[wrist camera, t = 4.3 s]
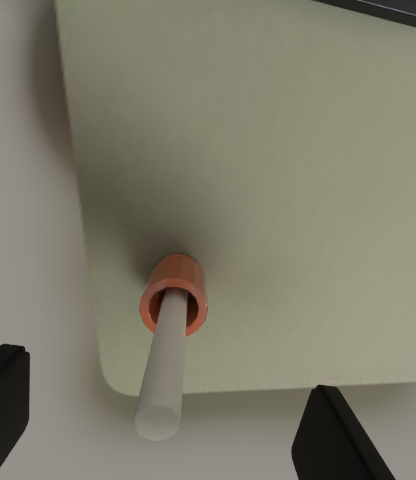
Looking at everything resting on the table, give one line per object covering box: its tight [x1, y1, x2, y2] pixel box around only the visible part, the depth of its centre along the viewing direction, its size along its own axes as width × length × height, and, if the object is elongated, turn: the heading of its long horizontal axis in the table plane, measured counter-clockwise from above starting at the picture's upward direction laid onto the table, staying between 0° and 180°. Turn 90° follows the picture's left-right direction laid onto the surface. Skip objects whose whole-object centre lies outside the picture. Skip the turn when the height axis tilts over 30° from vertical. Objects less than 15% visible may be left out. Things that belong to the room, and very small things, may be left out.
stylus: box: [133, 287, 188, 441], centre depth 13 cm, size 1×1×10 cm
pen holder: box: [139, 254, 208, 337], centre depth 16 cm, size 4×4×4 cm
